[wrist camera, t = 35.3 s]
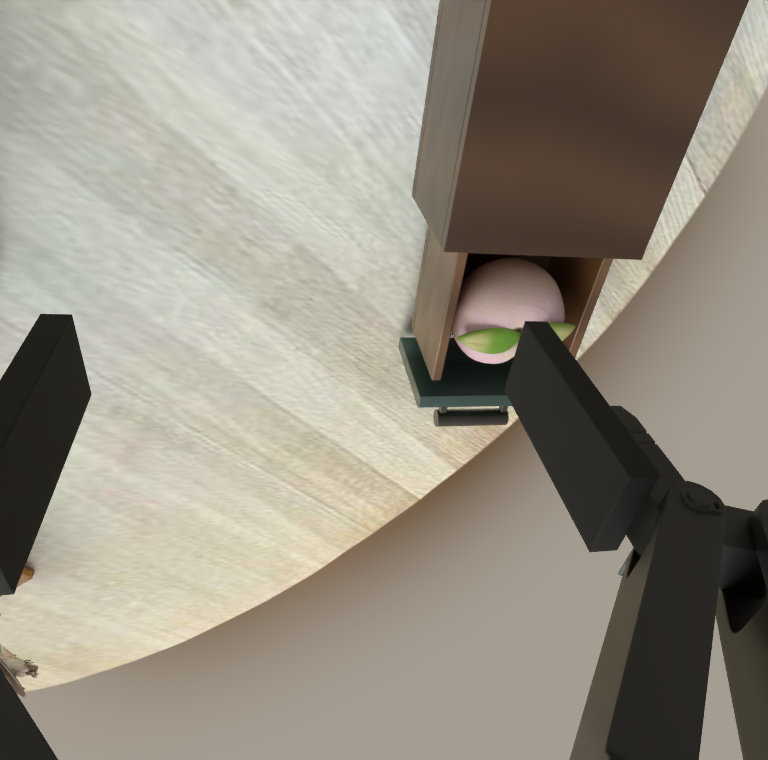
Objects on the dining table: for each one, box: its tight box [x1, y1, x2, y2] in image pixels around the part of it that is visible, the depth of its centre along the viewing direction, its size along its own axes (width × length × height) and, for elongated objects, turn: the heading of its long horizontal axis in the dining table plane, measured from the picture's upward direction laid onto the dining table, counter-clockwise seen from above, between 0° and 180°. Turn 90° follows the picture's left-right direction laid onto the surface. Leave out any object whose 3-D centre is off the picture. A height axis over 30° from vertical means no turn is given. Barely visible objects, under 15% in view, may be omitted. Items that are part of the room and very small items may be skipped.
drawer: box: [399, 224, 613, 426], centre depth 49 cm, size 22×14×9 cm, turn 174°
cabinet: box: [412, 0, 749, 260], centre depth 38 cm, size 18×15×11 cm
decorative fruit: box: [452, 258, 575, 364], centre depth 46 cm, size 9×8×10 cm
